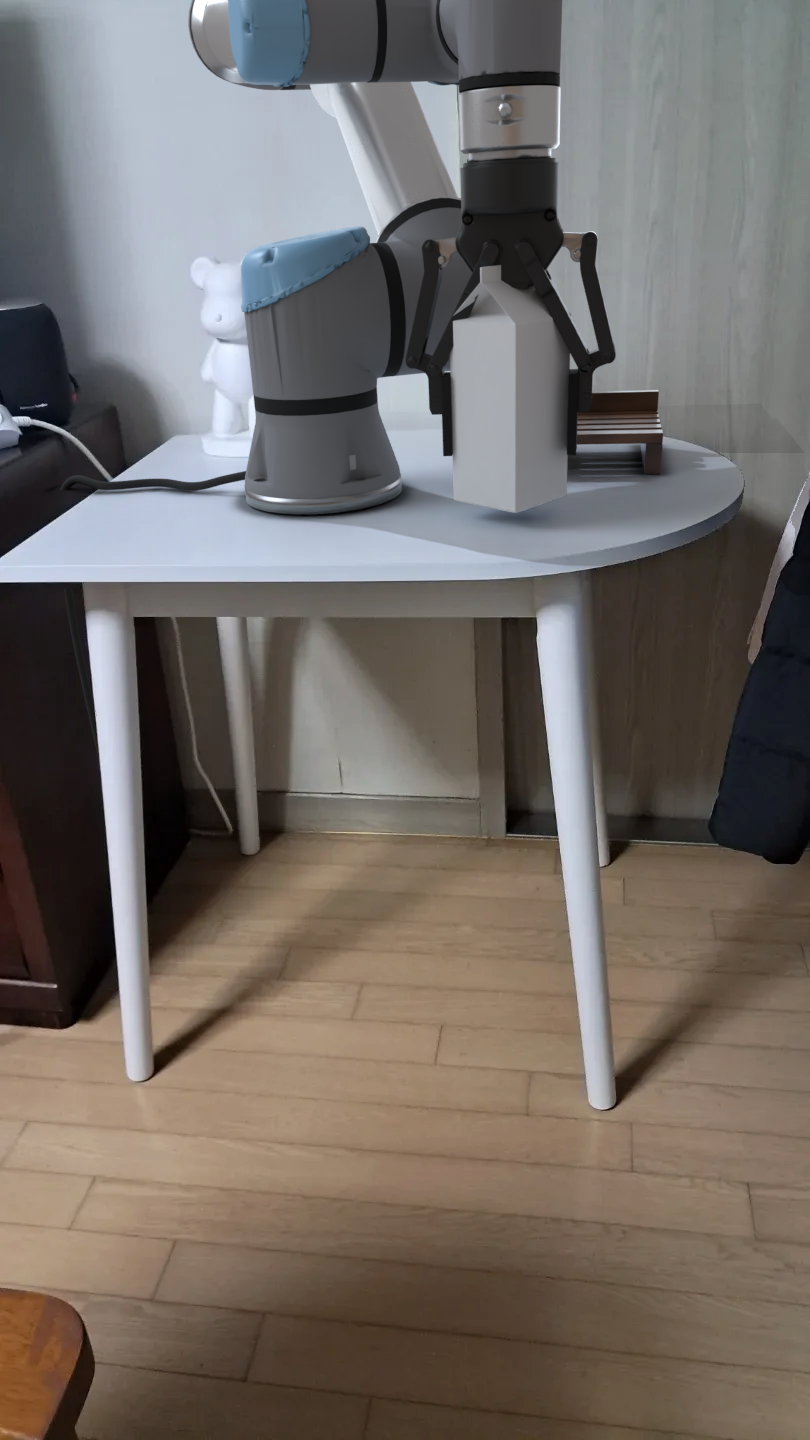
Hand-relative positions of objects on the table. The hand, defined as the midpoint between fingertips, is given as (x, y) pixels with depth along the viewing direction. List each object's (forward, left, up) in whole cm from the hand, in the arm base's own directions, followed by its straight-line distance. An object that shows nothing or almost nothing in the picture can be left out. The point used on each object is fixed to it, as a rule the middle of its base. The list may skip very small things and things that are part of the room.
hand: (510, 452), depth 88 cm
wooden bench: (+7, +22, -6) cm, 24 cm away
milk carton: (0, 0, -4) cm, 4 cm away
